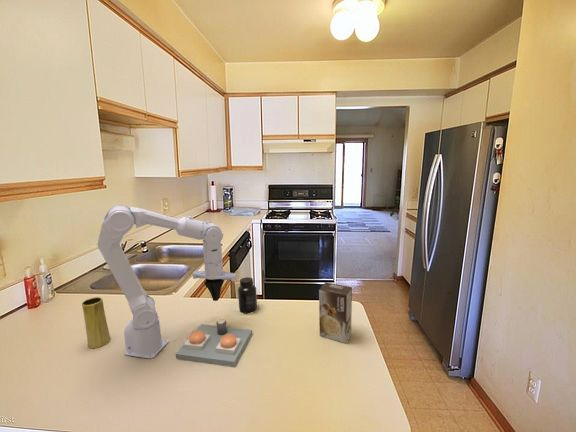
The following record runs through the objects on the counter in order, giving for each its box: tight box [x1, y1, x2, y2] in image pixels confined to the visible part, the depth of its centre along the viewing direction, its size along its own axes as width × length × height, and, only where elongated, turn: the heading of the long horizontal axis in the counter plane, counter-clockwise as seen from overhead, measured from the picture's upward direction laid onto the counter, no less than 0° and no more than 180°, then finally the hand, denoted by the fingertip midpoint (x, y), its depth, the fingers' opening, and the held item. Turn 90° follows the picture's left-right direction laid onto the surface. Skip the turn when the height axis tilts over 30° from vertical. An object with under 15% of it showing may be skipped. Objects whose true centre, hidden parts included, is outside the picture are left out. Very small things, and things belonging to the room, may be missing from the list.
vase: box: [81, 296, 111, 349], centre depth 89 cm, size 6×6×14 cm
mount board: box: [174, 323, 253, 368], centre depth 88 cm, size 18×15×3 cm
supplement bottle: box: [237, 276, 258, 315], centre depth 107 cm, size 7×7×12 cm
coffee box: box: [318, 282, 353, 344], centre depth 91 cm, size 9×6×16 cm
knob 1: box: [188, 330, 205, 344], centre depth 87 cm, size 5×5×4 cm
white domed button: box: [216, 318, 228, 335], centre depth 91 cm, size 3×3×4 cm
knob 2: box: [220, 334, 236, 348], centre depth 85 cm, size 5×5×4 cm
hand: (216, 299), depth 95 cm, fingers closed
